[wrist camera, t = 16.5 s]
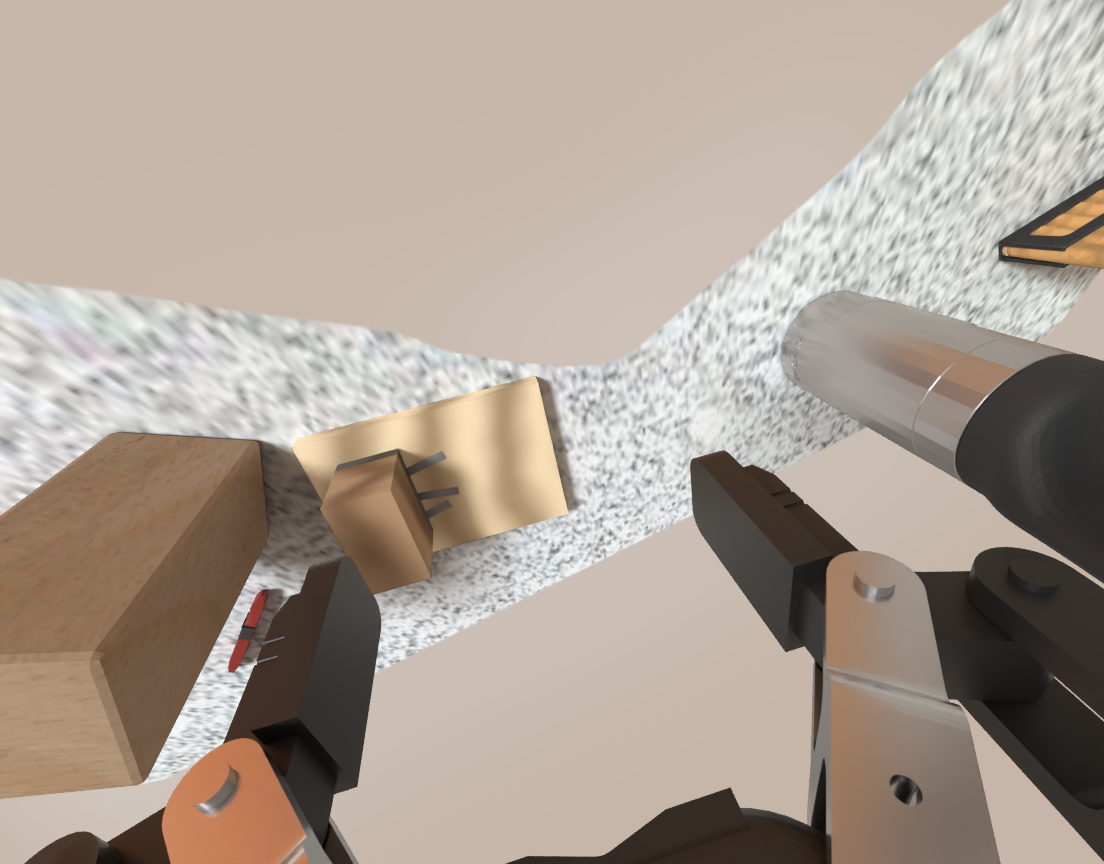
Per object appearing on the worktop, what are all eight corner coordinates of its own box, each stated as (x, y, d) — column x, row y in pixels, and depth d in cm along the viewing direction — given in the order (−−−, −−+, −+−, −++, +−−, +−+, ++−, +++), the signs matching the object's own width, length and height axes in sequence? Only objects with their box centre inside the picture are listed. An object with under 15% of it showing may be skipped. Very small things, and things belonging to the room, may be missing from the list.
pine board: (535, 376, 39) (538, 382, 38) (564, 504, 46) (568, 513, 45) (296, 438, 38) (291, 447, 37) (364, 561, 45) (362, 572, 44)
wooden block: (271, 536, 42) (146, 788, 24) (138, 534, 39) (-107, 814, 22) (261, 438, 37) (100, 660, 20) (110, 429, 35) (-221, 674, 18)
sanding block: (398, 448, 38) (390, 490, 33) (433, 529, 43) (431, 577, 38) (337, 464, 38) (319, 509, 33) (379, 545, 43) (369, 595, 37)
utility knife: (260, 581, 44) (252, 598, 42) (273, 584, 44) (265, 601, 43) (228, 663, 48) (220, 681, 46) (240, 664, 48) (232, 682, 47)
